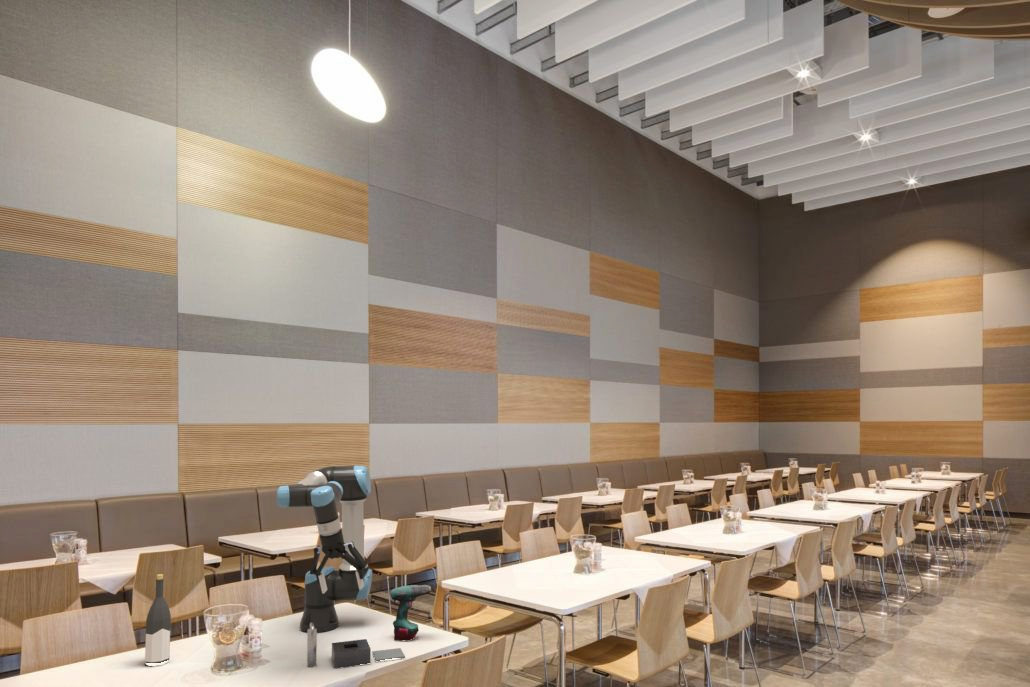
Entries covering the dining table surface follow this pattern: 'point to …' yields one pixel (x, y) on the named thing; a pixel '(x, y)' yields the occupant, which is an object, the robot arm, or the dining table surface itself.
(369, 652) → the chuck block
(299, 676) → the dining table surface
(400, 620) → the power drill
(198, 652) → the dining table surface
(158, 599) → the wine bottle
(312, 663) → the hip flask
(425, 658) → the dining table surface
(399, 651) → the mat
